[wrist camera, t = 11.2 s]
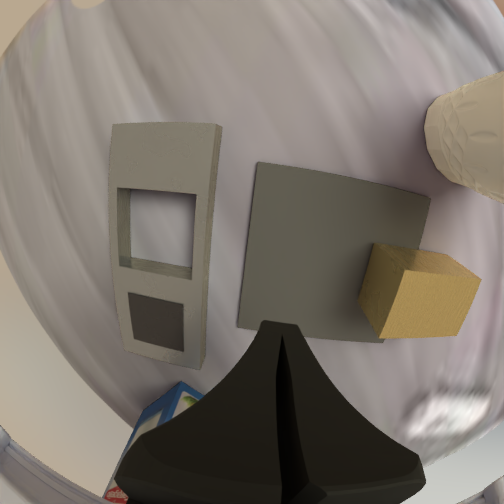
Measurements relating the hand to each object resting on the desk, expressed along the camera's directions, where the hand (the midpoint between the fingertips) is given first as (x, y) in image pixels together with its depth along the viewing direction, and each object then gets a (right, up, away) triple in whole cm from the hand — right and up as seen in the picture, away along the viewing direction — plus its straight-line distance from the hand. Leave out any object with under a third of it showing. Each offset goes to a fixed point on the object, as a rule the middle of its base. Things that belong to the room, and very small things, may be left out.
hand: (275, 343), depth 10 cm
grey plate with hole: (-7, +3, +9) cm, 12 cm away
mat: (+5, +2, +8) cm, 10 cm away
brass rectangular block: (+7, +1, +5) cm, 9 cm away
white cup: (+14, +12, +4) cm, 19 cm away
